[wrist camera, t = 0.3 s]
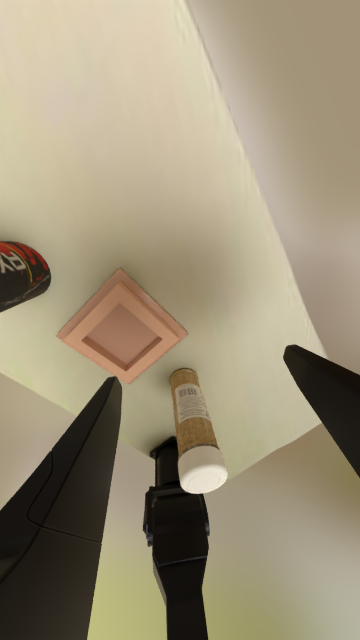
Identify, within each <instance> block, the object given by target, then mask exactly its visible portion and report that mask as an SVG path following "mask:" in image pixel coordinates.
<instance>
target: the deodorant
mask: <svg viewBox="0 0 360 640" xmlns="http://www.w3.org/2000/svg"><path fill="white" fill-rule="evenodd" d="M50 281H51V274H50V269H49V267H48V265H47V263H46V261H45V260H44V259H43V258H42V256H41V255H40V254H39V253H37V252H36V251H35V250H34V249H32V248H30V247H29V246H27V245H24V244H21V243H18V242H5V241H0V312H3V311H5V310H7V309H9V308H12V307H14V306H16V305H18V304H21V303H23V302H25V301H28V300H30V299H32V298H34V297H37V296H39V295H41V294H43V293H44V292H45V291H46V290H47V289H48V287H49V285H50Z"/></svg>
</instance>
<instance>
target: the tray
mask: <svg viewBox="0 0 360 640" xmlns="http://www.w3.org/2000/svg"><path fill="white" fill-rule="evenodd" d="M186 335H188V332H187V331H186V330H185V329H184V328H183V327H182V326H181V325H180V324H179V323H178V322H176V321H175V320H174V319H173V318H172V317H171V316H170V315H169V314H168V313H167V312H166V311H165V310H164V309H163V308H162V307H161V306H160V305H159V304H158V303H157V302H156V301H154V300H153V299H152V298H151V297H150V296H149V295H148V294H147V293H146V292H145V291H144V290H143V289H142V288H141V287H140V286H139V285H138V284H137V283H136V282H135V281H133V280H132V279H131V278H130V277H129V276H128V275H127V274H126V273H125V272H124V271H123V270H122V269H121V268H119V269H118V270H117V272H116V273H115V274H114V275H113V276H112V277H111V278H110V279H109V280H108V281H107V282H106V283H105V284H104V285H103V286H102V287H101V288H100V289H99V291H98V292H97V293H96V294H95V295H94V296H93V297H92V298H91V299H90V300H89V301H88V302H87V303H86V304H85V305H84V306H83V307H82V308H81V309H80V311H79V312H78V313H77V314H76V315H75V316H74V317H73V318H72V319H71V320H70V321H69V322H68V323H67V324H66V325H65V326H64V327H63V328H62V329H61V331H60V332H59V333H58V334H57V335H56V337H58V338H59V339H61V340H63V341H62V342H64V343H65V344H67V345H68V346H70V347H72V348H73V349H75V350H76V351H78V352H79V353H81V354H82V355H84V356H85V357H87V358H88V359H90V360H91V361H93V362H95V363H96V364H98V365H99V366H101V367H102V368H104V369H105V370H107V371H108V372H110V373H111V374H113V375H114V376H116V377H117V378H119V379H121V380H122V381H124V382H125V383H127V384H130V383H131V382H133V381H134V380H135V379H136V378H137V377H138V376H140V375H141V374H142V373H143V372H144V371H145V370H147V369H148V368H149V367H150V366H151V365H152V364H154V363H155V362H156V361H157V360H158V359H160V358H161V357H162V356H163V355H164V354H165V353H167V352H168V351H169V350H170V349H171V348H172V347H174V346H175V345H176V344H177V343H178V342H179V341H181V340H182V339H183V338H184V337H185V336H186Z"/></svg>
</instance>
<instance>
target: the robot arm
mask: <svg viewBox="0 0 360 640" xmlns="http://www.w3.org/2000/svg"><path fill="white" fill-rule="evenodd" d="M283 359H284V362H285V363H286V365H287V367H288V369H289V371H290V373H291V375H292V376H293V378H294V380H295V382H296V384H297V386H298V387H299V389H300V390H301V392H302V393H303V395H304V396H305V398H306V399H307V401H308V402H309V404H310V405H311V407H312V408H313V410H314V411H315V413H316V414H317V415H318V417H319V418H320V420H321V421H322V423H323V424H324V426H325V427H326V429H327V430H328V432H329V433H330V435H331V436H332V437H333V439H334V441H335V442H336V444H337V445H338V446H339V448H340V449H341V451H342V452H343V454H344V455H345V457H346V458H347V460H348V461H349V463H350V464H351V466H352V467H353V469H354V470H355V472H356V473H357V475H358V476H359V478H360V375H359V374H356V373H354V372H352V371H350V370H348V369H346V368H344V367H342V366H340V365H338V364H335V363H333V362H331V361H329V360H327V359H325V358H323V357H321V356H319V355H317V354H314V353H312V352H310V351H308V350H306V349H304V348H302V347H300V346H298V345H288V346H286V349H285V352H284V356H283ZM121 404H122V386H121V384H120V382H119V380H118V378H117V377H116V376H114V377H109V378H107V379H106V381H105V382H104V383H103V384H102V386H101V387H100V388H99V390H98V391H97V392H96V393H95V395H94V396H93V397H92V398H91V400H90V401H89V402H88V404H87V405H86V406H85V407H84V409H83V410H82V411H81V413H80V414H79V415H78V416H77V418H76V419H75V420H74V421H73V423H72V424H71V425H70V427H69V428H68V429H67V430H66V432H65V433H64V434H63V435H62V437H61V438H60V439H59V441H58V442H57V443H56V444H55V446H54V447H53V448H52V451H50V452H49V453H48V454H47V456H46V457H45V458H44V460H43V461H42V462H41V464H40V465H39V466H38V467H37V468H36V470H35V471H34V472H33V473H32V474H31V476H30V477H29V478H28V479H27V480H26V482H25V483H24V484H23V485H22V486H21V487H20V489H19V490H18V491H17V492H16V493H15V494H14V496H13V497H12V498H11V499H10V500H9V501H8V502H7V503H6V505H5V506H4V507H3V508H2V509H1V510H0V640H87V636H88V629H89V623H90V616H91V610H92V603H93V597H94V590H95V584H96V578H97V571H98V565H99V558H100V552H101V545H102V544H101V542H102V538H103V531H104V525H105V519H106V512H107V506H108V499H109V492H110V486H111V480H112V473H113V466H114V460H115V454H116V448H117V441H118V435H119V428H120V421H121ZM150 457H152V458H154V459H155V466H156V467H155V487H153V486H150V487H149V491H148V492H147V493H146V495H145V496H146V497H145V512H144V522H143V531H144V533H145V534H146V539H148V547H150V546H152V550H153V552H152V556H153V570H154V571H153V572H154V575H155V578H156V581H157V583H158V586H159V589H160V591H161V594H162V597H163V600H164V602H165V605H166V620H167V640H208V634H207V626H206V618H205V612H204V604H203V596H202V584H203V578H204V572H205V566H206V561H207V555H208V549H209V546H208V538H207V536H209V532H210V531H209V520H208V513H207V508H206V504H205V500H204V496H203V493H201V494H193V493H189V492H186V491H185V490H184V489H183V488H182V487H181V485H180V479H179V471H178V461H179V459H178V458H179V451H178V443H177V439H176V438H174V437H171V438H170V439H168V440H167V441H166V442H164V443H163V444H162V445H160V446H159V447H157V448H156V449H155V450H153V451H152V452H150Z"/></svg>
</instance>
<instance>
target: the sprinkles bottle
mask: <svg viewBox="0 0 360 640" xmlns="http://www.w3.org/2000/svg"><path fill="white" fill-rule="evenodd" d="M170 385H171V389H172V404H173V413H174V418H175V427H176V436H177V443H178V451H179V458H178V459H179V461H178V471H179V479H180V485H181V487H182V488H183V489H184V490H185V491H186V492H189V493H193V494H201V493H206V492H210V491H213V490H215V489H217V488H218V487H220V486H221V485H222V484H223V483H224V482H225V481H226V479H227V475H228V473H227V468H226V465H225V462H224V458H223V455H222V453H221V451H220V449H219V447H218V445H217V442H216V438H215V435H214V432H213V428H212V423H211V420H210V417H209V414H208V410H207V407H206V404H205V400H204V397H203V394H202V391H201V389H200V386H199V382H198V377H197V374H196V373H195V372H194V371H192V370H190V369H181V370H178V371H176V372H175V373H174V374H173V375H172V376H171V378H170Z"/></svg>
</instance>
